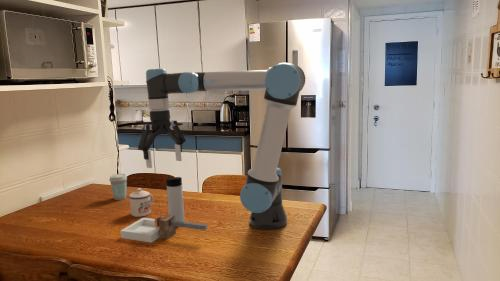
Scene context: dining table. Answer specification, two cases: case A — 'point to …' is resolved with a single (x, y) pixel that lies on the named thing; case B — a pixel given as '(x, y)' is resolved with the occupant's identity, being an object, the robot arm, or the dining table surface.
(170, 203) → the travel mug
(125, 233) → the tray
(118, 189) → the coffee cup
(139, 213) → the teacup with lid
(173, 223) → the pin
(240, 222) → the dining table surface
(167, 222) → the pin mount
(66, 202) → the dining table surface
